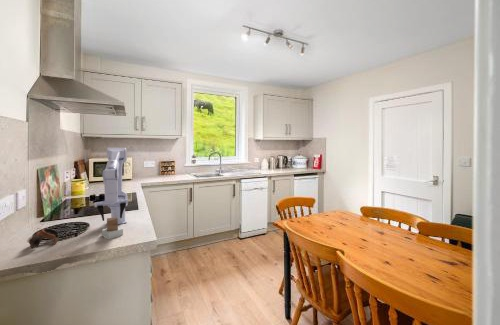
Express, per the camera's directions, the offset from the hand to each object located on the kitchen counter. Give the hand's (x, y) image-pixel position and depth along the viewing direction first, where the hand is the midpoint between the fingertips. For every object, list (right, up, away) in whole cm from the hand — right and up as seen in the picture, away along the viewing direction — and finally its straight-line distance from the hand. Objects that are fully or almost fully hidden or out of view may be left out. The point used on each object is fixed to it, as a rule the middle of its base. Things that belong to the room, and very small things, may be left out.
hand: (112, 218), depth 119 cm
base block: (0, -9, +1) cm, 9 cm away
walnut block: (0, -5, 0) cm, 5 cm away
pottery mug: (-24, -10, -12) cm, 29 cm away
